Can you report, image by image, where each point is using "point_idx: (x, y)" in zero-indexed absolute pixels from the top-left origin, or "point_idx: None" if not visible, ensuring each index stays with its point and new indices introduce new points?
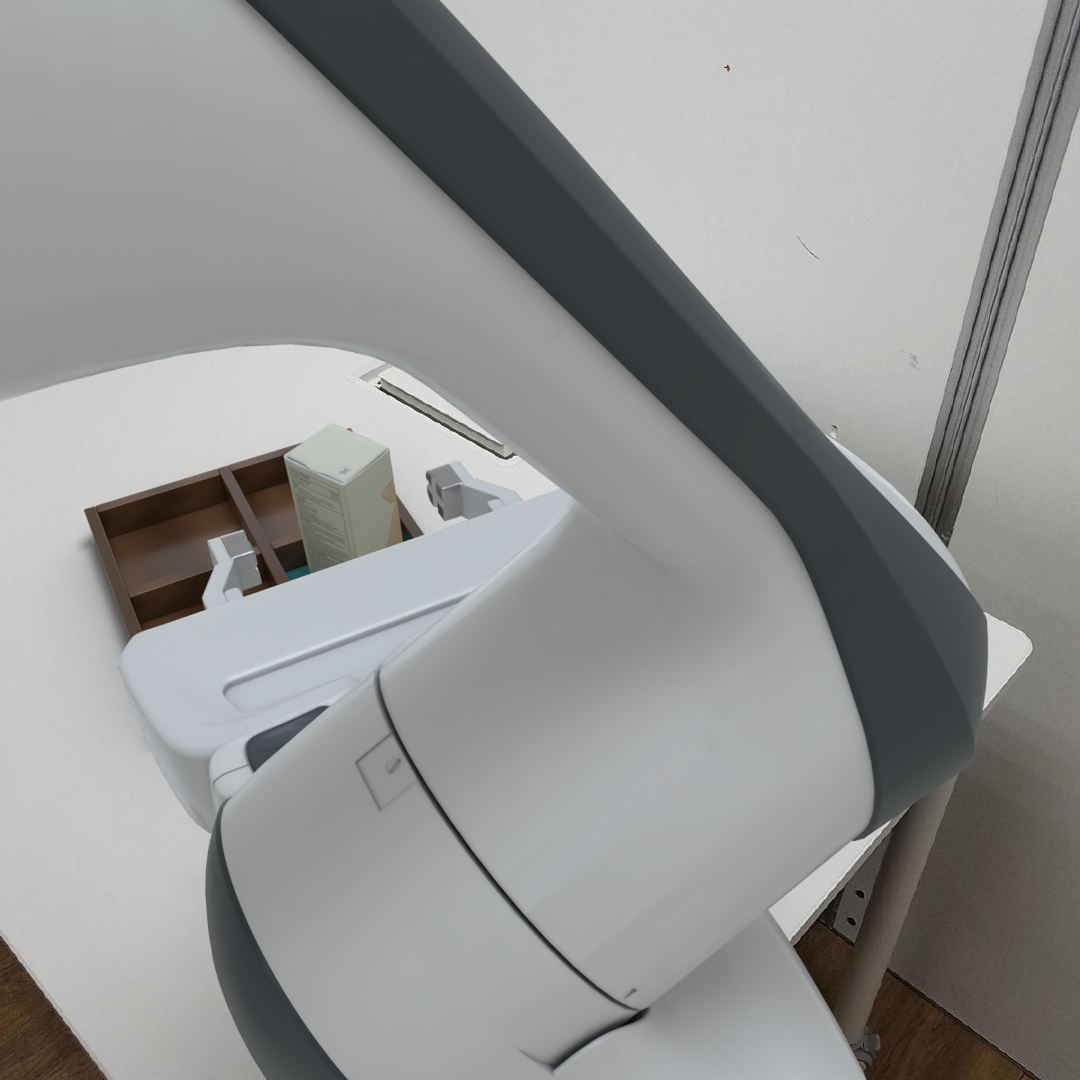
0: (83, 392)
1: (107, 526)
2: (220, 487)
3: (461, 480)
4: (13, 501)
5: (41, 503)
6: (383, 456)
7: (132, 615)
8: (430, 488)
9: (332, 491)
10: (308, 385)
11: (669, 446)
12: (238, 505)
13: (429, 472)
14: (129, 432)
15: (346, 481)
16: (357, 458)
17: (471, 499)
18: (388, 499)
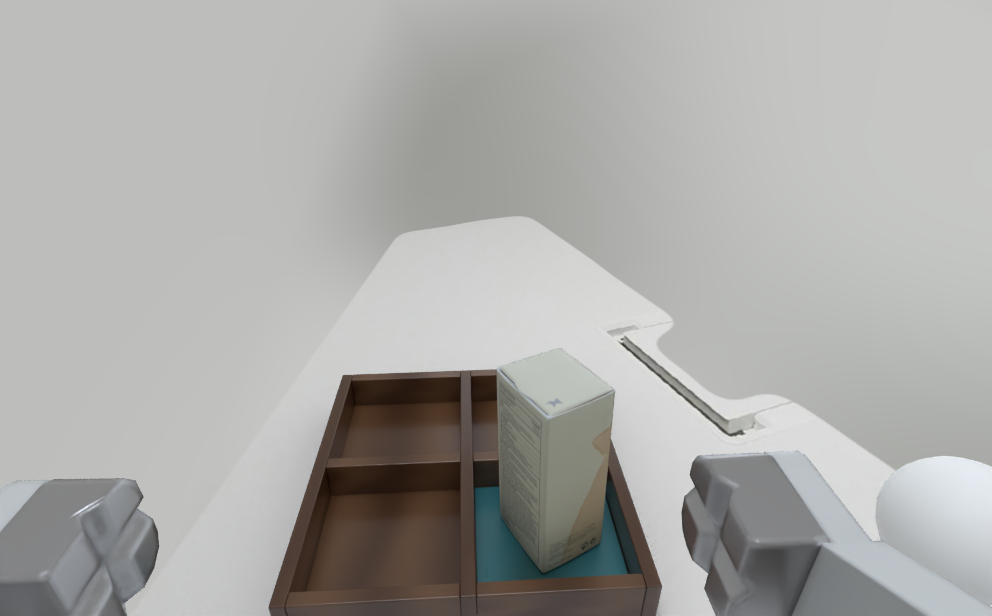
0: (405, 296)
1: (357, 395)
2: (458, 388)
3: (823, 529)
4: (314, 357)
5: (331, 363)
6: (605, 397)
7: (316, 487)
8: (695, 507)
9: (534, 422)
10: (564, 327)
11: None
12: (462, 408)
13: (709, 465)
14: (419, 329)
15: (553, 415)
16: (574, 391)
17: (851, 611)
18: (599, 449)
